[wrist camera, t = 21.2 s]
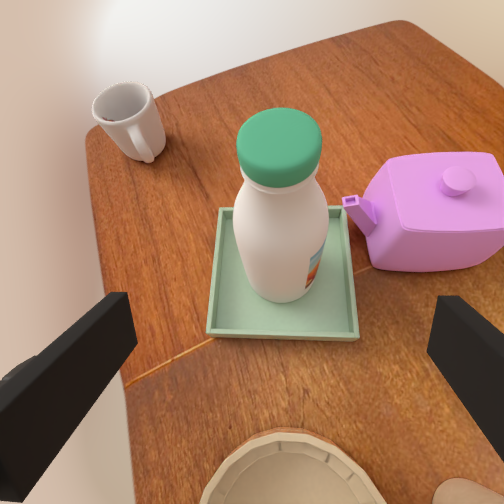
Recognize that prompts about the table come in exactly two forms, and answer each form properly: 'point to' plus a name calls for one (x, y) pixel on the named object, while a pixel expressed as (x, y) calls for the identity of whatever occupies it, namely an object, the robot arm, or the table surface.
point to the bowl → (290, 472)
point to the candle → (465, 493)
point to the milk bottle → (280, 203)
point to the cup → (131, 120)
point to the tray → (292, 313)
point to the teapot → (432, 212)
